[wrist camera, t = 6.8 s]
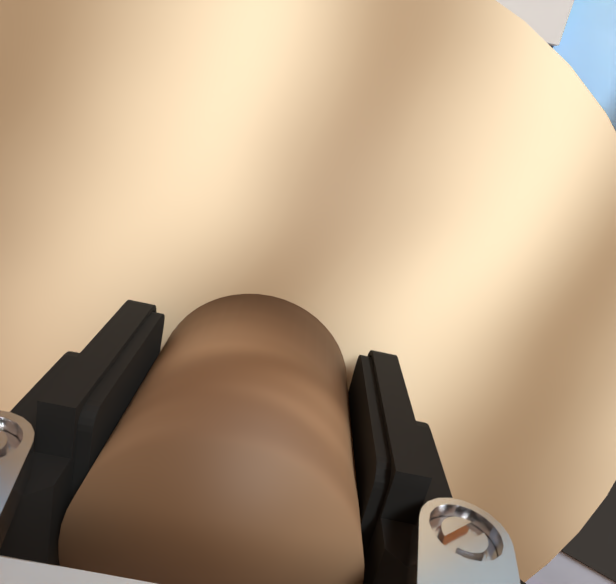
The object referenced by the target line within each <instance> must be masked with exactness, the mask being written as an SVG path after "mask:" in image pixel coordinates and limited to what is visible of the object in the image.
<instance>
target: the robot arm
mask: <svg viewBox="0 0 616 584" xmlns="http://www.w3.org/2000/svg"><path fill="white" fill-rule="evenodd" d="M164 320H165V315H164V314H162V313H157V312H156V305H153V304H148V303H143V302H138V301H133V300H127V301H126V302H125V303H124V304H123V305H122V307H121V308H120V309H119V310H118V311H117V312H116V313H115V314H114V315H113V317H112V318H111V319H110V320H109V321H108V322H107V323H106V324H105V325H104V327H103V328H102V329H101V330H100V331H99V332H98V333H97V334H96V336H95V337H94V338H93V339H92V340H91V341H90V342H89V343H88V344H87V346H86V347H85V348H84V349H83V350H82V351H81V352H80V353H78V352H73V351H68V352H67V353H65V354H64V355H63V356H62V357H61V358H60V359H59V360H58V361H57V362H56V363H55V364H54V365H53V366H52V368H51V369H50V370H49V371H48V372H47V373H46V374H45V375H44V376H43V377H42V378H41V379H40V380H39V381H38V382H37V383H36V384H35V385H34V386H33V388H32V389H31V390H30V391H29V392H28V393H27V394H26V395H25V396H24V397H23V398H22V399H21V400H20V401H19V402H18V403H17V404H16V405H15V406H14V408H13V409H12V410H11V411H10V412H6V411H1V410H0V584H157V583H151V582H145V581H140V580H134V579H129V578H123V577H118V576H112V575H107V574H101V573H96V572H90V571H84V570H79V569H73V568H68V567H62V566H60V562H59V556H58V540H59V535H60V529H61V524H62V521H63V519H64V516H65V513H66V510H67V508H68V507H69V505H70V503H71V501H72V500H73V498H74V496H75V494H76V493H77V491H78V489H79V488H80V486H81V484H82V483H83V481H84V479H85V478H86V476H87V474H88V472H89V471H90V469H91V467H92V466H93V464H94V462H95V461H96V459H97V457H98V456H99V454H100V452H101V451H102V449H103V447H104V446H105V444H106V442H107V441H108V439H109V437H110V436H111V434H112V432H113V431H114V429H115V427H116V426H117V424H118V422H119V421H120V419H121V417H122V416H123V414H124V412H125V410H126V409H127V407H128V405H129V404H130V402H131V400H132V399H133V397H134V395H135V394H136V392H137V390H138V389H139V387H140V385H141V384H142V382H143V380H144V379H145V377H146V375H147V374H148V372H149V370H150V369H151V367H152V365H153V364H154V362H155V360H156V359H157V357H158V355H159V354H160V349H161V342H162V335H163V328H164ZM348 396H349V406H350V417H351V427H352V438H353V449H354V459H355V470H356V480H357V491H358V502H359V512H360V523H361V533H362V544H363V555H364V565H365V566H364V580H363V584H526V583H524V582H523V581H522V580H520V578H519V572H518V567H517V562H516V557H515V551H514V546H513V544H512V541H511V538H510V536H509V534H508V533H507V532H506V530H505V529H504V528H503V526H502V525H501V524H500V523H499V522H498V521H497V520H496V519H495V518H493V517H492V516H491V515H490V514H489V513H487V512H485V511H484V510H482V509H481V508H479V507H477V506H475V505H473V504H470V503H468V502H466V501H463V500H458V499H454V498H453V497H452V494H451V491H450V488H449V485H448V482H447V479H446V476H445V473H444V470H443V466H442V463H441V460H440V457H439V454H438V451H437V448H436V445H435V442H434V439H433V435H432V432H431V429H430V427H429V425H428V424H427V423H425V422H420V421H416V419H415V416H414V412H413V409H412V405H411V402H410V399H409V395H408V392H407V388H406V385H405V381H404V378H403V374H402V371H401V367H400V364H399V360H398V357H397V355H393V354H388V353H383V352H379V351H374V350H370V352H369V353H368V356H364V355H359V356H358V359H357V362H356V365H355V369H354V373H353V376H352V380H351V383H350V387H349V391H348Z"/></svg>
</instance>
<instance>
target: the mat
mask: <svg viewBox="0 0 616 584" xmlns="http://www.w3.org/2000/svg"><path fill="white" fill-rule="evenodd" d="M496 1H497V2H499V3H500V4H501V5H503V6H504V7H506V8H507V9H508V10H510V11H511V12H513V13H514V14H515V15H517V16H518V17H520V18H521V19H522V20H524V21H525V22H526V23H527V24H528V25H529V26H530V27H531V28H532V29H533V30H534V31H535V32H536V33H537V34H538V35H539V36H540V37H541V38H543V39H544V40H545V41H546V42H547V43H548V44H549V45H553V46H557V45H559V43H560V40H561V37H562V34H563V32H564V29H565V26H566V23H567V20H568V17H569V14H570V11H571V8H572V5H573V2H574V0H496Z"/></svg>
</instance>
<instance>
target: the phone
mask: <svg viewBox="0 0 616 584" xmlns="http://www.w3.org/2000/svg"><path fill="white" fill-rule="evenodd" d="M561 551H563V552H564V553H566V554H568V555H569V556H571V557H573V558H575V559H576V560H578V561H580V562H582V563H583V564H585V565H587V566H588V567H590V568H592V569H594V570H595V571H597V572H599V573H601V574H602V575H604V576H606V577H607V578H609V579H611V580H613V581H614V582H616V481H615V482H614V484H613V486H612V487H611V489H610V491H609V493H608V494H607V496H606V498H605V499H604V500H603V501H602V503H601V504H600V505H599V507H598V508H597V509H596V511H595V512H594V513H593V514H592V516H591V517H590V518H589V520H588V521H587V522H586V524H585V525H584V526H583V528H582V529H581V530H580V531H579V533H578V534H577V535H576V536H575V537H574V538H573V539H572V540H571V541H570V542H569V543H568V544H567V545H566V546H565V547H564V548H563V549H562V550H561Z"/></svg>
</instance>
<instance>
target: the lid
mask: <svg viewBox="0 0 616 584" xmlns="http://www.w3.org/2000/svg"><path fill="white" fill-rule="evenodd" d="M127 300H133V301H138V302H143V303H148V304H153V305H156V312H157V313H162V314H164V315H165V320H164V328H163V335H162V342H161V349H160V354H159V355H158V357H157V359H156V360H155V362H154V364H153V365H152V367H151V369H150V370H149V372H148V374H147V375H146V377H145V379H144V380H143V382H142V384H141V385H140V387H139V389H138V390H137V392H136V394H135V395H134V397H133V399H132V400H131V402H130V404H129V405H128V407H127V409H126V410H125V412H124V414H123V416H122V417H121V419H120V421H119V422H118V424H117V426H116V427H115V429H114V431H113V432H112V434H111V436H110V437H109V439H108V441H107V442H106V444H105V446H104V447H103V449H102V451H101V452H100V454H99V456H98V457H97V459H96V461H95V462H94V464H93V466H92V467H91V469H90V471H89V472H88V474H87V476H86V478H85V479H84V481H83V483H82V484H81V486H80V488H79V489H78V491H77V493H76V494H75V496H74V498H73V500H72V501H71V503H70V505H69V507H68V508H67V510H66V513H65V516H64V519H63V521H62V524H61V529H60V535H59V540H58V556H59V562H60V566H62V567H68V568H73V569H79V570H84V571H90V572H96V573H101V574H107V575H112V576H118V577H123V578H129V579H134V580H140V581H145V582H151V583H157V584H363V580H364V566H365V565H364V555H363V544H362V533H361V523H360V512H359V502H358V491H357V480H356V470H355V459H354V449H353V438H352V427H351V417H350V406H349V396H348V391H349V387H350V383H351V380H352V376H353V373H354V369H355V365H356V362H357V359H358V356H359V355H364V356H368V353H369V352H370V350H374V351H379V352H383V353H388V354H393V355H397V357H398V360H399V364H400V367H401V371H402V374H403V378H404V381H405V385H406V388H407V392H408V395H409V399H410V402H411V405H412V409H413V412H414V416H415V419H416V421H420V422H425V423H427V424H428V425H429V427H430V429H431V432H432V435H433V439H434V442H435V445H436V448H437V451H438V454H439V457H440V460H441V463H442V466H443V470H444V473H445V476H446V479H447V482H448V485H449V488H450V491H451V494H452V497H453V498H454V499H458V500H463V501H466V502H468V503H470V504H473V505H475V506H477V507H479V508H481V509H482V510H484V511H485V512H487V513H489V514H490V515H491V516H492V517H493V518H495V519H496V520H497V521H498V522H499V523H500V524H501V525H502V526H503V528H504V529H505V530H506V532H507V533H508V534H509V536H510V538H511V541H512V544H513V546H514V551H515V557H516V562H517V567H518V572H519V578H520V580H522V581H523V582H526V581H527V580H528V579H529V578H531V577H532V576H533V575H534V574H535V573H537V572H538V571H539V570H540V569H542V568H543V567H544V566H545V565H547V564H548V563H549V562H550V561H551V560H552V559H553V558H554V557H555V556H556V555H557V554H558V553H559V552H560V551H561V550H562V549H563V548H564V547H565V546H566V545H567V544H568V543H569V542H570V541H571V540H572V539H573V538H574V537H575V536H576V535H577V534H578V533H579V531H580V530H581V529H582V528H583V526H584V525H585V524H586V522H587V521H588V520H589V518H590V517H591V516H592V514H593V513H594V512H595V511H596V509H597V508H598V507H599V505H600V504H601V503H602V501H603V500H604V499H605V498H606V496H607V494H608V493H609V491H610V489H611V487H612V486H613V484H614V482H615V481H616V131H615V129H614V127H613V125H612V123H611V121H610V120H609V118H608V116H607V114H606V112H605V111H604V110H603V109H602V107H601V106H600V105H599V103H598V102H597V101H596V99H595V98H594V97H593V95H592V94H591V93H590V91H589V90H588V89H587V87H586V86H585V85H584V83H583V82H582V81H581V79H580V78H579V77H578V75H577V74H576V73H575V71H574V70H573V69H572V67H571V66H570V65H569V64H568V63H567V62H566V61H565V60H564V59H563V58H562V57H561V56H560V55H559V54H558V53H557V52H556V51H555V50H554V49H553V48H552V47H551V46H550V45H549V44H548V43H547V42H546V41H545V40H544V39H543V38H541V37H540V36H539V35H538V34H537V33H536V32H535V31H534V30H533V29H532V28H531V27H530V26H529V25H528V24H527V23H526V22H525V21H524V20H522V19H521V18H520V17H518V16H517V15H515V14H514V13H513V12H511V11H510V10H508V9H507V8H506V7H504V6H503V5H501V4H500V3H499V2H497V1H496V0H0V410H1V411H6V412H10V411H11V410H12V409H13V408H14V406H15V405H16V404H17V403H18V402H19V401H20V400H21V399H22V398H23V397H24V396H25V395H26V394H27V393H28V392H29V391H30V390H31V389H32V388H33V386H34V385H35V384H36V383H37V382H38V381H39V380H40V379H41V378H42V377H43V376H44V375H45V374H46V373H47V372H48V371H49V370H50V369H51V368H52V366H53V365H54V364H55V363H56V362H57V361H58V360H59V359H60V358H61V357H62V356H63V355H64V354H65V353H67V352H68V351H73V352H78V353H80V352H81V351H82V350H83V349H84V348H85V347H86V346H87V344H88V343H89V342H90V341H91V340H92V339H93V338H94V337H95V336H96V334H97V333H98V332H99V331H100V330H101V329H102V328H103V327H104V325H105V324H106V323H107V322H108V321H109V320H110V319H111V318H112V317H113V315H114V314H115V313H116V312H117V311H118V310H119V309H120V308H121V307H122V305H123V304H124V303H125V302H126V301H127Z"/></svg>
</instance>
